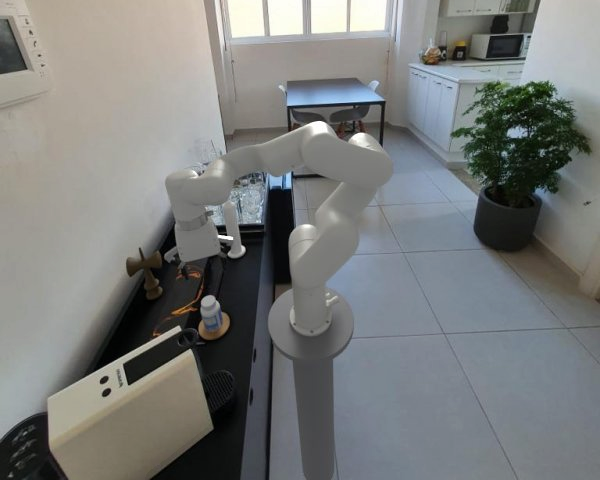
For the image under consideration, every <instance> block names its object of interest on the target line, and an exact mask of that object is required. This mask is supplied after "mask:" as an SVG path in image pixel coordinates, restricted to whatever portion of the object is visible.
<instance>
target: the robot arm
mask: <svg viewBox="0 0 600 480" xmlns="http://www.w3.org/2000/svg"><path fill="white" fill-rule="evenodd" d="M304 167H306V168H307V169H308V170H310V171H311V172H313V173H315V174H317V175H318V176H322V177H325V178H328V179H331V180H333V181H334V180H335V181H338V182H340V184H339V185H338V186H337V187H336V189H334V191H333V192H332V193H331V194H330V195H329V196H328V197H327V198H326V200H324V201H323V203H322V204H321V205H320V206H319V207H318V208H317V210H316V212H315V214H314V224H315V225H313V224H310V223H304V224H300V225H297V226H296V227H295V228H294V229H293V230H292V232H290V234H289V238H288V258H289V273H290V278H291V288H292V291H293V303H294V306H293V307H292V308H291V311H290V315H289V318H290V324H291V326H292V328H293V329H294V330H295V331H296V332H297V333H299V334H301V335H303V336H310V337H312V336H317V335H320V334H322V333H324V332H325V331H326V330H327V329H328V328H329V326H330V324H331V321H332V313H331V310H330V308H332V306H333V305H335V304H337V303H338V302H339V298H338V297H337V296H335V297H333V298H332V299H331V300H327V299H329V298H331V296H330V294H329V293H328V294H326V287H327V282H328V281H330V280H331V278H333V276H334V275H335V274H336V273H338V272H339V271H340V270H341V269H342V268H343V267H344V266H345V265H346V264H347V263H348V262H349V261H350V260H351V258H352V257H354V255H355V254H356V253H357V250H358V247H359V245H360V232H359V229H358V226H357V224H356V223H357V220H358V218H359V217H360V215H361V214H362V213H363V212H364V211H365V210H366V208H367V207H368V206H369V205H370V204H371V203H372V201H373V200H374V198H375V196H376V195H377V193H378V190H379V188H381V187H383V186H385V185H386V184H387V183H388V182H389V181H390V180H391V179H392V177H393V174H394V163H393V161H392V158H391V157H390V155H389V154H388V153H387V152H386V150H385V149H384V148H383V147H382V145H381V144H380V143H379V141H378V140H377V139H376V138H375V137H374V136H372V135H371V134H369V133H367V132H359V133H356V134H354V135H352V136H350V138H349V139H348V141H346V140H344V139H341V138H339V137H338V135H337V133H336V132H335V130H334V129H333V127H332V126H331V125H329V124H328V123H326V122H324V121H320V120H319V121H313V122H310V123H308V124H305V125H303V126H300V127H298V128H296V129H294V130H291V131H289V132H286V133H284V134H281V135H280V136H278V137H276V138H273V139H271V140H269V141H266V142H263V143H257V144H252V145H245V146H241V147H238V148H236V149H233V150H231V151H228V152H227V153H224V154H222V155H220V156H217V157H215V158H214V159H213V160H211V161H210V162H209V163H208V164H207V166H206V168H205V170H204V172H203V173H202V174H201V175H199V174H198V173H197V172H196V171H195V170H194V169H189V168H184V169H178V170H175V171H172V172H171V173H170V174H168V175H167V176H166V177H165V180H164V185H165V191H166V194H167V197H168V200H169V204H170V207H171V210H172V214H173V217H174V220H175V224H174V236H175V243H176V246H174V247H172V248H171V249H170V250H168V251H167V252H166V253H165V254H164V256H163V259H164V260H165V261H167V262H168V263H169V264H170V265H171V266H173V267H176V268H177V269H178V270H180V274H181V277H184V279H185V281H186V282H187V281H189V280H190V270H189V267H188V264H187V263H189V262H192V261H193V262H194V261H196V260H200V259H204V258H210V257H209V256H211V257H213V256H212V255H214V256H216V255H217V256H219V257H220V263H221V266H222V267H221V268H222V271H226V270H227V266H228V265H229V263H228V258H227V256H228V255H227V254H228V253H229V251H230V250H231V247H232V245H233V243H234V239H233V237H228V236H226V235H220V234H219V232H218V229H217V226H216V223H215V221H214V219H213V217H212V216H214V209H209V208H207V206H208V207H218V206H222V205H223V204H224V203H225V202H226V201H227V200H228V199H229V200H230V197H231V194H232V191H233V187H234V183H235V181H236V180H238V179H241V178H242V177H245V176H248V175H250V174H253V173H258V172H259V173H260V172H261V173H265V174H268V175H270V176H271V177H273V178H280V177H283V176H285V175H287V174H288V175H289V174H290V173H292V172H294V171H296V170H299V169H302V168H304ZM221 243H224V244H225V245H224V246H223V245H220V244H221ZM177 254H178V257H179V258H178V257H175V255H177Z"/></svg>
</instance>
